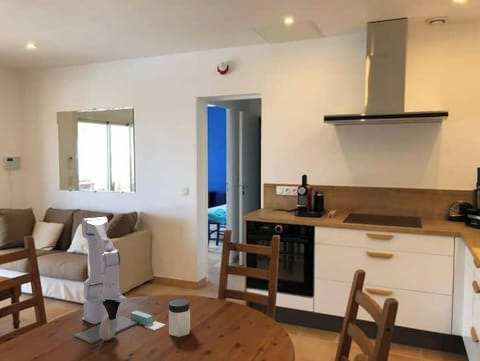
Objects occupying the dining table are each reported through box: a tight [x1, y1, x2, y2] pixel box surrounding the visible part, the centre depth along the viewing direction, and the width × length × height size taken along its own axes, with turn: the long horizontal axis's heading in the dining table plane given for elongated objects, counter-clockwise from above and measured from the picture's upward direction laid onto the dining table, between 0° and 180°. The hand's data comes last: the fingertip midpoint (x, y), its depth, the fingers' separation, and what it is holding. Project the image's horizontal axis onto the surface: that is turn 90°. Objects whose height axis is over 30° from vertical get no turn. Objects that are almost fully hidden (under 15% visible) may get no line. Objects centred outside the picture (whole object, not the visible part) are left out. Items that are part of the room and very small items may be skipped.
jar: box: [168, 298, 191, 338], centre depth 156 cm, size 9×8×12 cm
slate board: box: [74, 315, 139, 345], centre depth 159 cm, size 11×22×1 cm, turn 145°
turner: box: [130, 310, 167, 332], centre depth 164 cm, size 16×6×4 cm, turn 56°
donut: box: [99, 313, 118, 341], centre depth 150 cm, size 10×4×10 cm, turn 167°
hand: (112, 319), depth 148 cm, fingers closed
